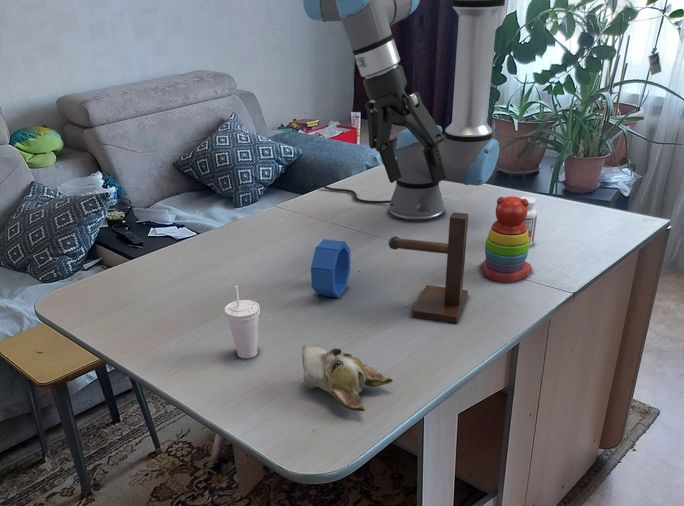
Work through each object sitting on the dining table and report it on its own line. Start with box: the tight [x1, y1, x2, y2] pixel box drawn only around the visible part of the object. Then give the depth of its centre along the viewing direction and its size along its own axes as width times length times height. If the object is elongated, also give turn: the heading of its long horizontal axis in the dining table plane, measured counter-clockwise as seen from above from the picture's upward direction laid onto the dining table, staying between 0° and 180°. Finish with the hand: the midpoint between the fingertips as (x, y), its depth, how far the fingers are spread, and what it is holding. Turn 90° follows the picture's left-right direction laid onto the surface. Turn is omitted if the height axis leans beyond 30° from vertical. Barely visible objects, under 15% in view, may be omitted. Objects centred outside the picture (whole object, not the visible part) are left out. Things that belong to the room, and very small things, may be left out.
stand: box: [388, 211, 469, 324], centre depth 130 cm, size 16×12×20 cm
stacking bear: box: [481, 196, 532, 283], centre depth 142 cm, size 11×10×18 cm
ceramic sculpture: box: [301, 344, 394, 412], centre depth 107 cm, size 11×9×15 cm
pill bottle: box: [519, 196, 538, 247], centre depth 158 cm, size 6×6×11 cm
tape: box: [310, 238, 351, 299], centre depth 139 cm, size 5×11×11 cm, turn 160°
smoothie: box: [224, 285, 261, 359], centre depth 117 cm, size 6×6×14 cm
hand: (417, 180), depth 127 cm, fingers open, 13 cm apart
